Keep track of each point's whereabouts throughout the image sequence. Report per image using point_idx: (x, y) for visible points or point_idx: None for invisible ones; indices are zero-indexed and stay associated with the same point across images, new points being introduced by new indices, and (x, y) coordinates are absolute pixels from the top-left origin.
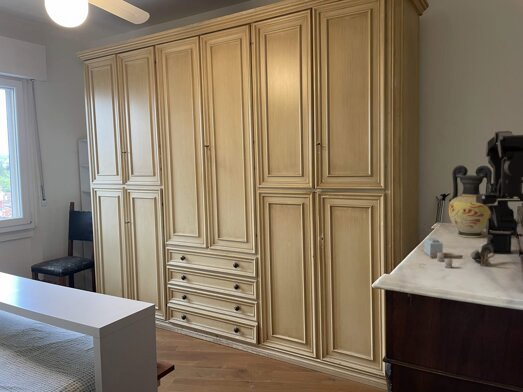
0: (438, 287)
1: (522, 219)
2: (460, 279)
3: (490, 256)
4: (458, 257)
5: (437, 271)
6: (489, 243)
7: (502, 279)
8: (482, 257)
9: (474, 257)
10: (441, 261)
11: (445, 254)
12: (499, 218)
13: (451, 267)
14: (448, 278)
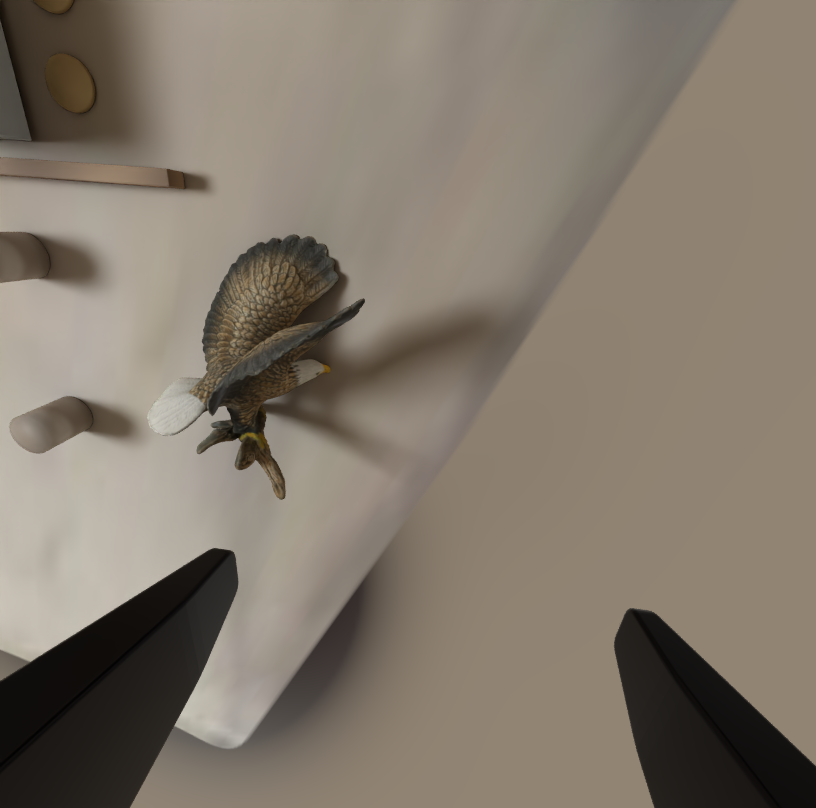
0: (35, 642)
1: (696, 737)
2: (113, 584)
3: (267, 471)
4: (149, 185)
5: (23, 478)
6: (284, 355)
7: (276, 602)
8: (230, 439)
9: (235, 285)
10: (35, 278)
11: (62, 11)
12: (144, 779)
13: (86, 429)
14: (69, 569)
